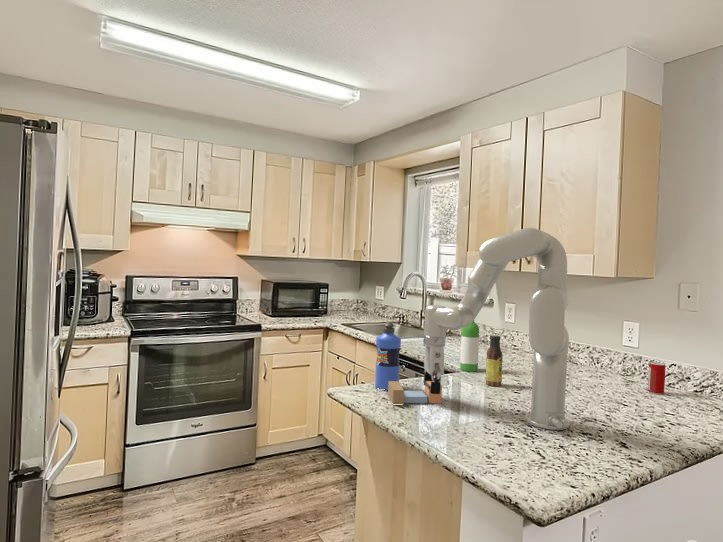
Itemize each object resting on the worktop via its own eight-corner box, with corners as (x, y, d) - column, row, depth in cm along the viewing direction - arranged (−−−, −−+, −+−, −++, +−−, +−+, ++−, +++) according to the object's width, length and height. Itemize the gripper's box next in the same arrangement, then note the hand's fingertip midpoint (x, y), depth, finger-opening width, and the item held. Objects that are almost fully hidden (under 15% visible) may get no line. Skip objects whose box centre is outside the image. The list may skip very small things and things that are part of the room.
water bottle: (386, 382, 181) (388, 319, 180) (404, 388, 174) (406, 322, 173) (369, 386, 174) (371, 321, 173) (387, 392, 167) (390, 324, 167)
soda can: (667, 395, 176) (668, 364, 176) (652, 394, 177) (654, 363, 176) (658, 391, 182) (660, 361, 182) (644, 390, 182) (646, 360, 182)
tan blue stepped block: (429, 405, 154) (430, 390, 154) (392, 405, 152) (393, 390, 152) (422, 395, 165) (422, 381, 165) (387, 395, 163) (388, 381, 163)
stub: (441, 403, 157) (441, 385, 156) (428, 403, 156) (429, 385, 156) (436, 397, 163) (437, 380, 163) (424, 397, 162) (424, 380, 162)
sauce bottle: (502, 387, 179) (504, 337, 179) (485, 386, 181) (487, 336, 180) (500, 383, 186) (502, 334, 185) (484, 382, 187) (486, 333, 187)
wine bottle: (474, 373, 202) (477, 305, 201) (457, 370, 206) (460, 304, 205) (479, 369, 208) (482, 304, 208) (463, 367, 212) (465, 302, 212)
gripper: (452, 346, 151) (449, 397, 151) (438, 336, 168) (435, 382, 169) (429, 345, 150) (426, 396, 151) (418, 335, 167) (415, 382, 168)
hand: (431, 389), depth 160 cm, fingers open, 9 cm apart
